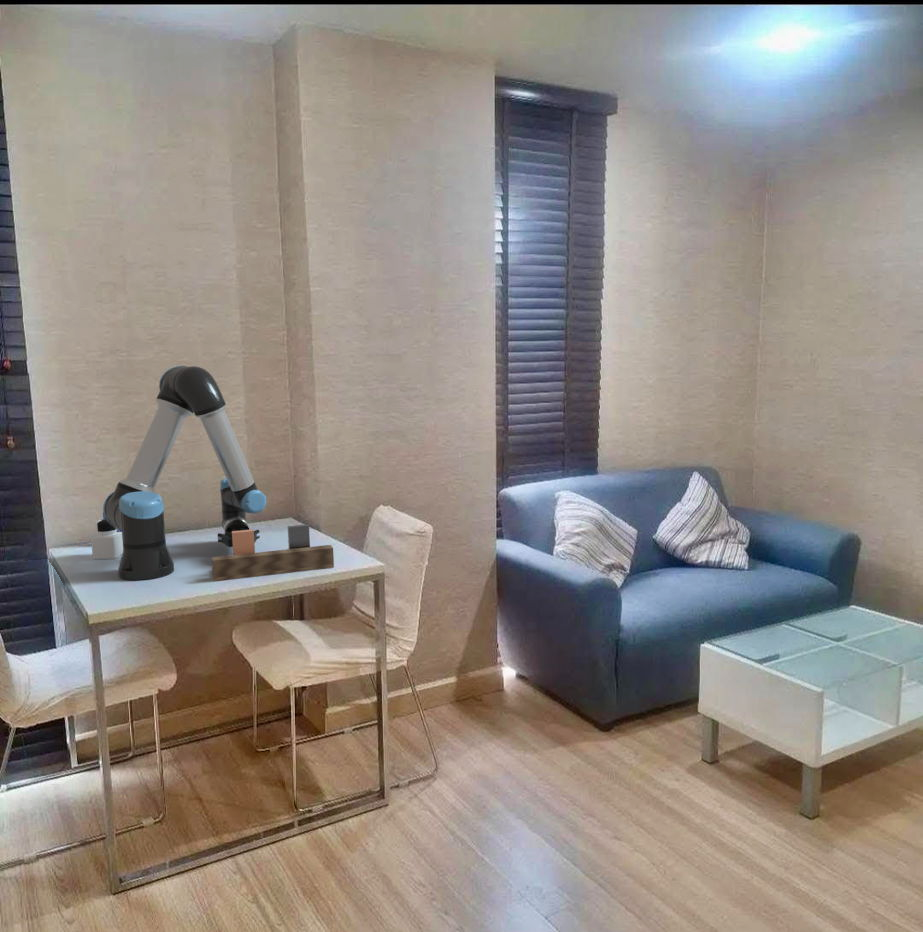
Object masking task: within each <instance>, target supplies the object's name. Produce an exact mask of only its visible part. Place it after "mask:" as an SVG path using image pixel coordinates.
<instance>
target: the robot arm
mask: <svg viewBox="0 0 923 932" xmlns="http://www.w3.org/2000/svg"><path fill="white" fill-rule="evenodd" d="M158 383H159V384H158V386H159V387H158V390H159V392H158V395H157V397H156V398H155V401H156V403H157V406H158V407H157V410H156V412H155V414H154V415H153V419H152V420H151V423H150V425H149V427H148V430H147V432H146V434H145V436H144V438H143V440H142V443H141V444H140V447H139V449H138V452H137V454H136V456H135V458H134V460H133V462H132V465H131V467H130V469H129V471H128V474H127V476H126V477H125V478H123V479H120V480H119V481H118V483H117V485H116V487H115V489H114V491H113V492H111V493H110V494H108V496H107V497H106V498H105V500H104V502H103V506H102V514H103V513H104V516H105V518H106V520H107V521H108V522H109V524H110V525H111V526H113V527H114V528H116V529H119V530H121V531H122V540H123V553H122V555H121V558H120V562H119V565H118V577H119V578H120V579H123V580H127V581H142V580H151V579H153V580H154V579H157V578H162V577H165V576H168V575H170V574H172V573H173V572H174V571H175V563H174V560H173V558H172V556H171V553H170V551H169V549H168V546H167V540H166V527H165V526H166V524H165V514H164V513H165V512H164V509H165V505H164V503H163V498H162V496H161V495H160V494H158V493H157V492H156V490H155V487H156V486H157V483H158V481H159V479H160V476H161V474H162V472H163V469H164V467H165V465H166V462H167V461H168V458H169V456H170V454H171V452H172V449H173V447H174V445H175V442H176V440H177V438H178V436H179V434H180V431H181V429H182V426H183V424H184V422H185V420H186V418H188V417H191V416H193V415H194V416H195V417H196V418H199V419H200V421H201V424H202V426H203V428H204V430H205V433H206V435H207V437H208V440H209V441H210V443H211V446H212V448H213V451H214V453H215V455H216V457H217V459H218V462H219V465H220V467H221V469H222V471H223V473H224V476H225V478H223V479H221V480H220V484H219V486H220V489H219V491H220V499H221V500H220V501H221V503H220V504H221V518H222V520H221V524H222V525H221V527H222V529H223V532H224V533H222V532H221V533H220V532H219V533H217V542H218V543H222V544H223V545H225V546H227V547H228V548H233V544H232V531H242V530H251V529H250V527H249V525H248V522H247V515H246V513H247V514H259V513H260V512H263V510H264V509H265V507H266V506H267V497H266V495H265V494H264V493H263V492H262V491H261V490H259V489H258V486H257V485H256V482H255V480H254V478H253V474H252V472H251V470H250V468H249V465H248V463H247V460H246V458H245V456H244V454H243V453H244V452H243V451H242V448H241V445H240V443H239V441H238V440H237V439H238V438H237V437H236V434H235V431H234V430H233V428H232V424H231V422H230V420H229V417H228V415H227V413H226V411H225V408H226V406H227V403H226V401H225V398H224V397H223V394H222V392H221V390H220V388H219V385H218V383H217V381H216V380H215V378H214V376H213V375H212V374H211V373H210V372H209V371H208V370H206V369H205V368H203V367H200V366H196V365H195V366H188V365H187V366H186V365H179V366H178V365H177V366H174V367H171V368H169V369H167V370H166V371H165V372H164V373H162V375H161V376H160V379H159V382H158ZM253 531H254V544H256V542H257V540H258V539H260V538H261V537H260V529H256V530H253Z"/></svg>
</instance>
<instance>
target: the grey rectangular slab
mask: <svg viewBox="0 0 923 932" xmlns="http://www.w3.org/2000/svg"><path fill="white" fill-rule="evenodd" d="M287 538H288V539H287V543H288V549H295V548H305V547H311V542H310V541H311V540H310V525H309V524H308V523H305V524H297V525H296V524H294V525H287Z"/></svg>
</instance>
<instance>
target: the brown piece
mask: <svg viewBox="0 0 923 932" xmlns="http://www.w3.org/2000/svg"><path fill="white" fill-rule="evenodd" d="M334 558H335V557H334V547H333V546H332V545H331V544H325V545H315V546H310V547H305V548H295V549H289V548H287V549H278V550H269V551H259V552H255V553H248V554H239V555H233V554H231V555H221V556H212V557H211V561H212V567H211V573H212V577H213V582H220V581H221V582H222V581H228V580H238V579H247V578H255V577H257V578H258V577H264V576H272V575H274V576H275V575H280V574H288V573H289V574H290V573H298V572H306V571H308V572H309V571H315V570H316V571H317V570H322V569H323V570H324V569H333V568H335V561H334Z"/></svg>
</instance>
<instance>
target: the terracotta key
mask: <svg viewBox="0 0 923 932" xmlns="http://www.w3.org/2000/svg"><path fill="white" fill-rule="evenodd" d="M254 531H255V530H254V529H250V530H242V531H232V544H233V547H232V555H239V554H248V553H256V550H255V549H256V546H255V543H254Z"/></svg>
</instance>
